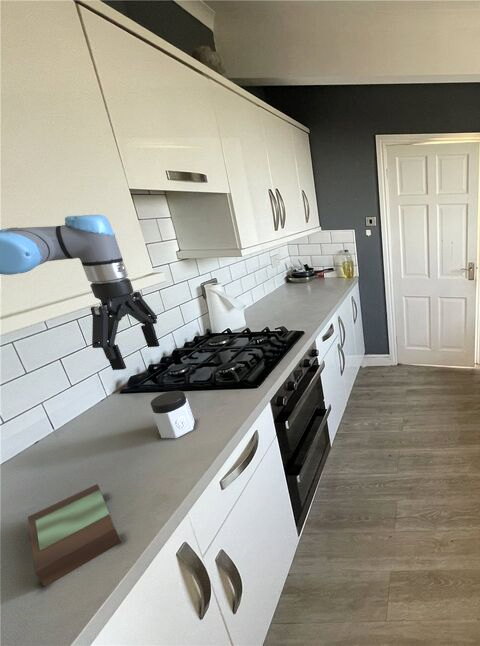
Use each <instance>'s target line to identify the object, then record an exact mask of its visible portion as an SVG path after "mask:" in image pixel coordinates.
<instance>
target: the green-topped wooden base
mask: <svg viewBox="0 0 480 646" xmlns="http://www.w3.org/2000/svg"><path fill="white" fill-rule="evenodd" d="M27 522H28V529H29V530H28V531H29V536H30V537H29V538H30V546H31V553H32V560H33V569H34V574H35V575H36V577H37V578H38V580H39V581H40V583H41V584H42V585H43V588H46V587H48V586H50V585H51V584H53V583H54V582H56V581H58V580H59V579H61V578H63V577H65V576H66V575H68V574H70V573H71V572H74V571H75V570H77V569H78V568H81V567H82V566H84V565H86V564H87V563H88V562H90V561H92V560H94V559H96V558H97V557H99V556H100V555H102V554H104V553H106V552H107V551H110V550H111V549H112V548H114V547H117V546H118V545H119V544H121V543H122V539H121V536H120V535H119V533H118V531H117V528H116V526H115V524H114V521H113V519H112V516H111V513H110V511H109V508H108V505H107V504H106V499H105V496H104V494H103V492H102V490H101V488H100V486H99V484H98V483H96V484H94V485H92V486H90V487H88V488H85V489H84V490H81V491H79V492H77V493H75V494H73V495H71V496H69V497H67V498H65V499H62V500H60V501H58V502H56V503H54V504H52V505H50V506H48V507H46V508H43V509H41V510H39V511H37V512H35V513H33V514H30V515H29V516H27Z"/></svg>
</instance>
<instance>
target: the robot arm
mask: <svg viewBox="0 0 480 646" xmlns="http://www.w3.org/2000/svg"><path fill="white" fill-rule="evenodd" d="M74 259H79V260H80V263H81V266H82V268H83V271H84V273H85V276H86V280H87V281H88V282H90V283H91V284H90V285H89V286H90V289H91V291H92V294H93V297H94V298H95V299H98V300H99V301H100V303H101V304H100V305H97V306H96V305H95V306H91V307H90V311H91V315H92V329H91V330H92V333H91V336H92V337H91V341H92V342H91V347H92V348H93V349H102V351H103V354H104V356H105V358H106V360H108V362H109V365H110V368H111V370H112V371H121V370H126V369H127V366H126V363H125V360H124V357H123V355H122V353H121V349H120V347H119V345H118V344H115V341H116V336H117V332H118V329H119V324H120V321H122V320H123V318H124V317H126V316H127V315H129V316H131V317H132V318H133V319H135V320H136V321H138V322H139V323H140V324H142V325H141V326H140V329H141V331H142V334H143V337H144V340H145V343H146V346H147V348H158V347H160V342H159V340H158V339H159V338H158V336H157V333H156V332H157V331H156V329H155V326H154V325H156V324H157V323H158V316H157V314H156V313H155V311H153V310H152V308H151V307H150V306H149V304H148V303H147V302H146V301H145V299H144V298H143V296H142V294H141V292H140V291H135V290H134V288H133V285H132V284H133V283H132V282H131V279H130V278H129V277H128V276H129V273H128V270H127V269H126V266H125V263H124V259H123V256H122V253H121V250H120V248H119V244H118V241H117V238H116V233H115V232H114V230H113V228H112V226H111V223H110V221H109V218H107V216H105V215H102V214H83V215H68V216H65V217H64V224H62V225H55V226H28V227H27V226H26V227H6V228H2V229H1V230H0V275H4V276H11V275H12V276H13V275H18V274H19V275H20V274H25V273H28V272H30V271H32V270H33V269H35V268H36V267H38V266H40V265H43V264H45V263H47V262H52V261H53V262H55V261H63V260H74Z"/></svg>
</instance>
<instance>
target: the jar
mask: <svg viewBox="0 0 480 646" xmlns="http://www.w3.org/2000/svg"><path fill="white" fill-rule="evenodd" d="M149 404H150V407H151V409H152V417H153V419H154V422H155V425H156V427H157V430H158V432H159V435H160V438H161V439H177V438H179V437H182V436H183V435H186V434H187V433H189V432H191V431H193V430H194V426H195V422H196V421H195V419H194V415H193V413H192V410H191V406H190V404H189V400H188V398H187V397H186V394H185V392H184V391H182V390H171V391H167V392H164V393H161V394H159V395H157V396H156V397H154V398H153V399H152V400H151V401H150V403H149Z"/></svg>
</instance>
